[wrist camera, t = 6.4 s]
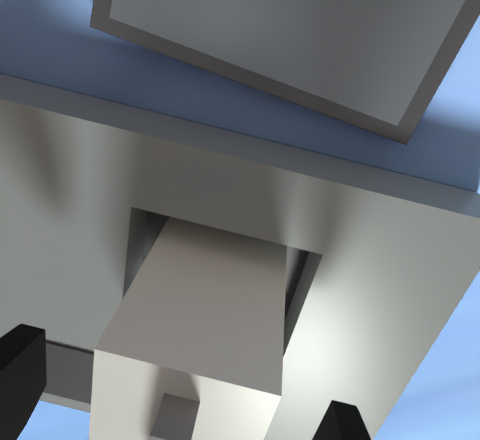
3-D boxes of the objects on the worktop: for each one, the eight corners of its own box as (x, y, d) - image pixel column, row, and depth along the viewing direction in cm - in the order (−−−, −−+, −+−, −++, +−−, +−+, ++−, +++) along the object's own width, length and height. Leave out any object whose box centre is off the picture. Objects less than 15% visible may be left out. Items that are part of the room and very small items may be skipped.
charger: (258, 329, 16) (234, 541, 10) (156, 303, 16) (69, 499, 10) (287, 243, 14) (279, 441, 8) (170, 214, 14) (71, 389, 8)
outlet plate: (343, 431, 18) (349, 479, 16) (-8, 343, 18) (-42, 382, 16) (477, 192, 12) (509, 227, 11) (-41, 63, 12) (-100, 75, 11)
